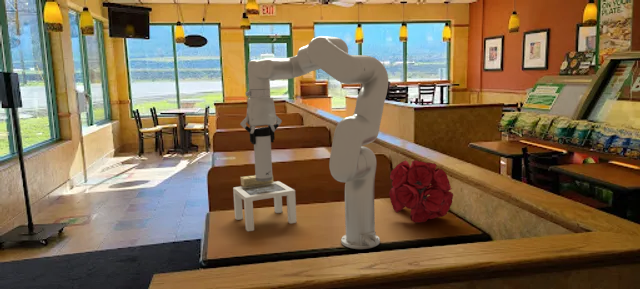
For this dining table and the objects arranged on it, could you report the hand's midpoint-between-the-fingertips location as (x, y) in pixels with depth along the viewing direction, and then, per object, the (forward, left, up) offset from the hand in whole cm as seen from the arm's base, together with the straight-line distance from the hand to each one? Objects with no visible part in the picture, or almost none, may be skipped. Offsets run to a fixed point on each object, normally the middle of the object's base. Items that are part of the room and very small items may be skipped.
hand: (262, 142), depth 164 cm
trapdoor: (+4, 0, -19) cm, 20 cm away
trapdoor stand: (+2, 0, -31) cm, 31 cm away
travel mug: (0, 0, -14) cm, 14 cm away
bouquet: (-25, -51, -31) cm, 65 cm away
